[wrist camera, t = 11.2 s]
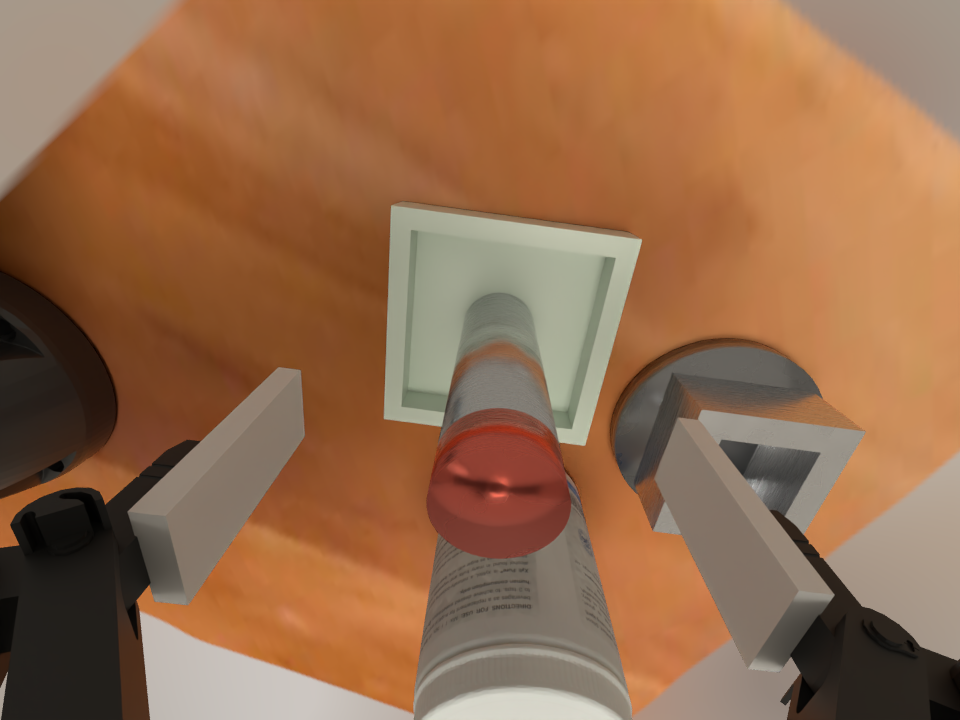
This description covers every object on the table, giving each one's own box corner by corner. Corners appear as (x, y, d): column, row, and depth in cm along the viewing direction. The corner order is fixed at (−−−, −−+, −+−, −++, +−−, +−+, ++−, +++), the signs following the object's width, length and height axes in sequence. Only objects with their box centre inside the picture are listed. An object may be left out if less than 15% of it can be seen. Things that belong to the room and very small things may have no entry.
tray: (393, 397, 28) (383, 418, 25) (402, 200, 23) (391, 205, 20) (578, 422, 28) (584, 445, 25) (628, 231, 23) (642, 239, 20)
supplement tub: (433, 530, 32) (383, 789, 19) (462, 429, 28) (425, 666, 15) (556, 559, 33) (591, 829, 20) (601, 463, 29) (684, 721, 16)
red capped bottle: (460, 353, 25) (422, 550, 13) (467, 288, 24) (432, 440, 11) (527, 362, 25) (555, 566, 13) (539, 297, 24) (586, 459, 11)
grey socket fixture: (591, 486, 30) (608, 551, 25) (639, 325, 25) (673, 366, 20) (761, 509, 30) (813, 579, 25) (844, 353, 25) (930, 401, 20)
